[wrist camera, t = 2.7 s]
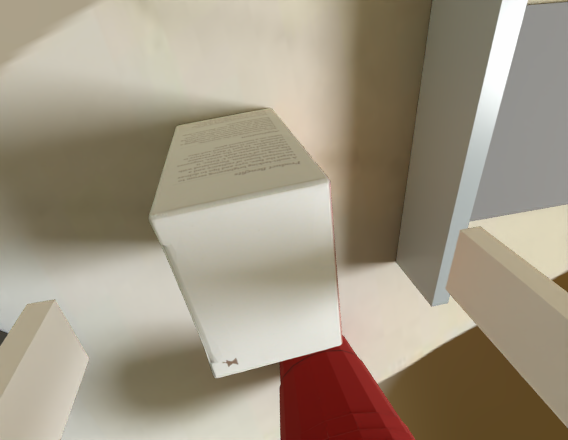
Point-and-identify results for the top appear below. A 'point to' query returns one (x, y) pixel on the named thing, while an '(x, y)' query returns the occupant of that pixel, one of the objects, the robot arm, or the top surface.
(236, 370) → the small box
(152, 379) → the top surface
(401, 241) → the low wall
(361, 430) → the plastic cup
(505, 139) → the mat
